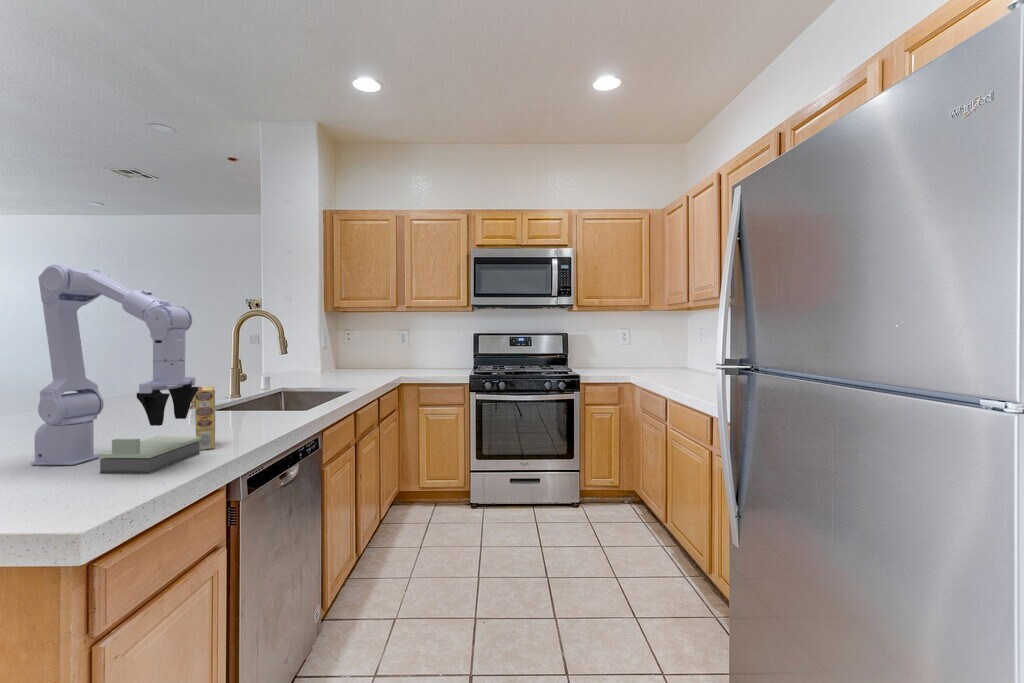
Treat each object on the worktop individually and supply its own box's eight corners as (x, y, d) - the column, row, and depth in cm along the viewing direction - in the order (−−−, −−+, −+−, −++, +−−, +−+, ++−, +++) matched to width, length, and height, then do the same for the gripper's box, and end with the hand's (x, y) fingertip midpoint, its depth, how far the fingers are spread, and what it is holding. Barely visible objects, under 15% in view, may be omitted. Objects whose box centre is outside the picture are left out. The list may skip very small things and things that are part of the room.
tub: (100, 473, 95) (100, 459, 95) (157, 453, 111) (157, 440, 111) (148, 473, 95) (148, 459, 95) (199, 453, 111) (199, 441, 111)
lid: (97, 457, 95) (97, 439, 95) (157, 439, 111) (157, 424, 111) (149, 458, 95) (149, 440, 95) (201, 439, 112) (201, 424, 112)
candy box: (215, 449, 116) (215, 389, 116) (194, 451, 114) (195, 390, 113) (215, 441, 123) (215, 385, 123) (196, 443, 121) (196, 386, 121)
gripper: (164, 363, 93) (163, 428, 94) (208, 358, 108) (208, 416, 108) (128, 362, 93) (128, 428, 93) (178, 358, 107) (177, 415, 108)
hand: (169, 421), depth 101 cm, fingers open, 7 cm apart
